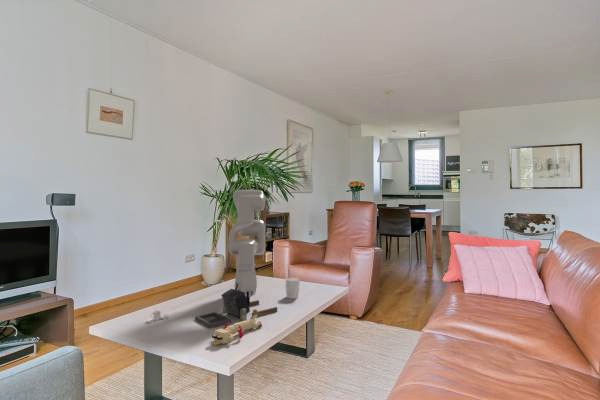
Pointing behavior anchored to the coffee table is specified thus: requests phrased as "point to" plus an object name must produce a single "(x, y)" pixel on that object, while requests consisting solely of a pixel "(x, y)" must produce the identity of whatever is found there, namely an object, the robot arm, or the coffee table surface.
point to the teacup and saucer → (158, 316)
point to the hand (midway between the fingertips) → (246, 305)
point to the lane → (244, 313)
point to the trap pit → (213, 319)
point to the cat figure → (235, 330)
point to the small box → (235, 302)
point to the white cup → (292, 288)
